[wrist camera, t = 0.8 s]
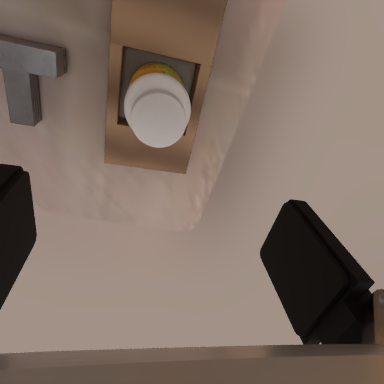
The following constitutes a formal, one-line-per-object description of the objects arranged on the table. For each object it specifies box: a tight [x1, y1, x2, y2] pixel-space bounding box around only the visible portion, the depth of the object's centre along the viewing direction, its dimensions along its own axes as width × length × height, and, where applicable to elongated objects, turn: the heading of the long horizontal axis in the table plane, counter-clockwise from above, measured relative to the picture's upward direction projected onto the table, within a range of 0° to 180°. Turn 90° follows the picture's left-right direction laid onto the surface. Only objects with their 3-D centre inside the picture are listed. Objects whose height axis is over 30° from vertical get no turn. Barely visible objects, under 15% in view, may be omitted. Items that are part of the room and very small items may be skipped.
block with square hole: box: [104, 0, 227, 174], centre depth 24 cm, size 22×9×2 cm, turn 168°
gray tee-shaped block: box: [0, 34, 66, 126], centre depth 23 cm, size 7×7×3 cm
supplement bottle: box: [124, 62, 191, 148], centre depth 22 cm, size 5×5×10 cm
